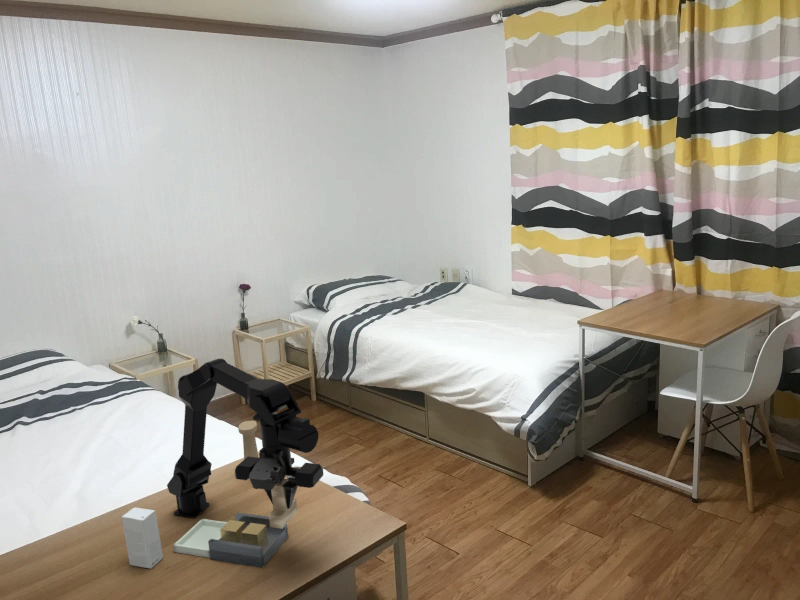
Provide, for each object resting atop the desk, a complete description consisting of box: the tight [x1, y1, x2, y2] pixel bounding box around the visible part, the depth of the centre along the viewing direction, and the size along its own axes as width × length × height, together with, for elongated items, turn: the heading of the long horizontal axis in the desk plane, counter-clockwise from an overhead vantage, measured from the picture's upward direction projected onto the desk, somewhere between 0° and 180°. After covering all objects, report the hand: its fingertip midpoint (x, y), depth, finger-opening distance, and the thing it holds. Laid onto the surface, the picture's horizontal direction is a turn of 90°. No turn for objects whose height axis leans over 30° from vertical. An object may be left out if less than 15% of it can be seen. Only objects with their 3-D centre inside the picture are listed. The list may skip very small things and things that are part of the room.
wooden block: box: [220, 519, 246, 542], centre depth 145 cm, size 4×4×2 cm
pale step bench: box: [268, 478, 298, 529], centre depth 139 cm, size 3×7×9 cm, turn 162°
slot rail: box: [208, 512, 289, 569], centre depth 144 cm, size 13×12×4 cm
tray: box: [173, 518, 228, 559], centre depth 148 cm, size 10×11×2 cm
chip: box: [241, 523, 267, 545], centre depth 143 cm, size 4×4×2 cm
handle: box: [238, 420, 259, 460], centre depth 177 cm, size 5×6×15 cm
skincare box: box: [121, 507, 164, 570], centre depth 140 cm, size 6×4×12 cm
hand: (282, 506), depth 139 cm, fingers closed on pale step bench, 3 cm apart
